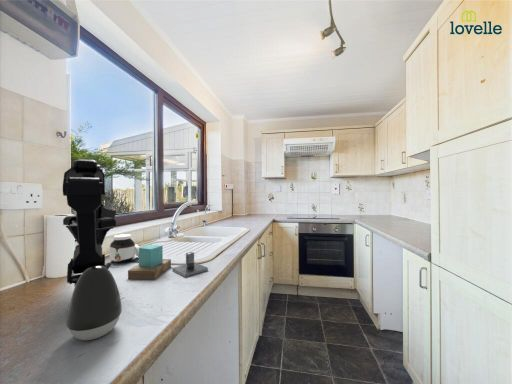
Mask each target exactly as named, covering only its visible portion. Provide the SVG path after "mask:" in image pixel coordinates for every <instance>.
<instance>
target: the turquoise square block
mask: <svg viewBox="0 0 512 384" xmlns="http://www.w3.org/2000/svg"><path fill="white" fill-rule="evenodd" d="M139 247H140V246H139ZM163 247H164V246H163V245H161V244H160V245H159V244H148V245H144V246H141V247H140V248H139V258H138V264H139V266H143V267H150V268H152V267H154V266H156V265H159V264H161V263H163V259H164V258H163V249H164V248H163Z"/></svg>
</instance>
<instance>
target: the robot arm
mask: <svg viewBox="0 0 512 384" xmlns="http://www.w3.org/2000/svg"><path fill="white" fill-rule="evenodd" d="M103 171H104V168H103V167H101V164H98V161H96V160H94V159H83V158H82V159H75V160H74V162H73V165H72V167H70V168H68V169H67V170H66V171H65V172H64V173H63V181H62V196H64V197H65V196H66V203H67V206H68V207H69V208H71V209H72V210H74V212H76V213H75V215H68V216H65V217H64V218H63V219H62V224H63V226H65V228H67V229H68V231H69V232H70V233H71V236H72V237H73V238H74V239H75V241H76V243H77V245H76V246H75V248H74V251H73V258H70V261H69V263H68V264H67V269H66V270H67V273H66V283H68V284H69V285H72V284H74V285H73V286H74V287H75V285H76V283H77V281H78V279H79V278H80V276H81V275H82V273H83V272H84V271H85V270H86V269H88V268H90V267H92V266H96V265H100V266H105V265H106V254H105V253H103V247H102V246H103V243H104V241H105V238H106V236H107V234H108V233H109V231H110V230H111V229H114V227H117V219H116V214H117V211H116V210H112V209H109V208H106V207H104V204H103V203H102V202H103V196H106V173H104V172H103ZM68 303H70V301H69V302H68Z"/></svg>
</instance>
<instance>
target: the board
mask: <svg viewBox="0 0 512 384" xmlns="http://www.w3.org/2000/svg"><path fill="white" fill-rule="evenodd" d="M171 267H172V259H170V258H167V259H166V258H163V263H161V264H159V265H156V266H154V267H152V268H150V267H143V266H139V263H137V265H135V266H133V267H132V268H129V269H128V270H127V278H128V279H132V280H136V279H137V280H155V279H157V278H158V277H159V276H161V275H162V274H164V273H165V272H166V271H167V270H168V269H169V268H171ZM128 279H127V280H128Z"/></svg>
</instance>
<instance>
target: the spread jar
mask: <svg viewBox="0 0 512 384" xmlns="http://www.w3.org/2000/svg"><path fill="white" fill-rule="evenodd" d="M131 238H132V234H130V233H129V234H127V233H125V234H124V233H123V234H118V235H117V234H115V235H114V236H113V241H111V243H110V245H109V259H110V260H111V261H112V263H114V264H125V263H129V262H130V261H132V260H133V259H134V258H135V256H136V257H137V256H138V257H139V248H140V246H139V245H138V244H137V243H135V241H134V240H133V239H131ZM138 257H137V258H138Z"/></svg>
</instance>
